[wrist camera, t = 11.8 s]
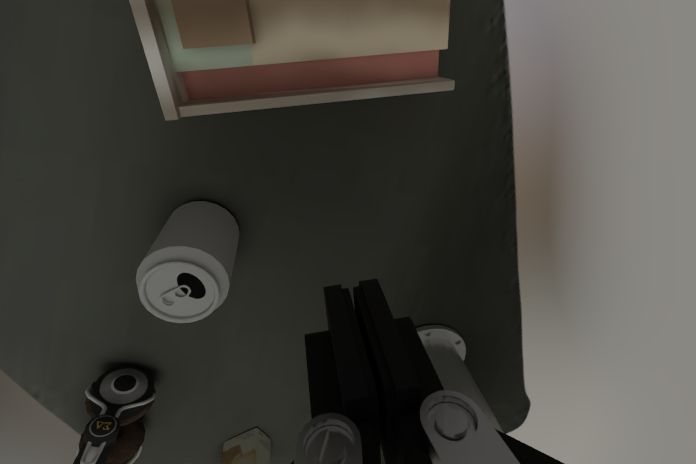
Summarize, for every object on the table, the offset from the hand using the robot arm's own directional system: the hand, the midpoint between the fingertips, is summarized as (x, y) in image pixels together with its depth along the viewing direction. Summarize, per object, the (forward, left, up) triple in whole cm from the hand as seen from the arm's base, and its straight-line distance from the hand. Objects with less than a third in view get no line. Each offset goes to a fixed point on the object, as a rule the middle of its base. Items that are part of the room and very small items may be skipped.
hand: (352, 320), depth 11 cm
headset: (-33, +28, -29) cm, 52 cm away
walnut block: (+10, +6, -27) cm, 29 cm away
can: (-10, +12, -29) cm, 33 cm away
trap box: (+10, -1, -29) cm, 31 cm away
